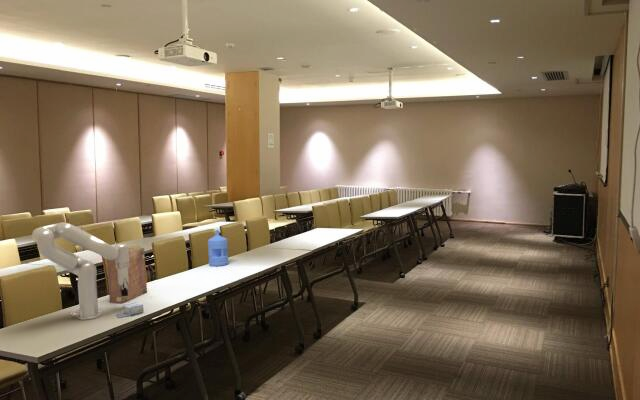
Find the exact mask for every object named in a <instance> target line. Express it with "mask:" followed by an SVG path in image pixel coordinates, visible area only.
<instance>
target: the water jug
mask: <svg viewBox="0 0 640 400" xmlns="http://www.w3.org/2000/svg"><path fill="white" fill-rule="evenodd" d="M207 248H208V249H207V250H208V254H207V255H208V265H209V266H210V267H224V266H228V265H229V255H228V238H226V237H224V236H222V235H220V230H219V229H216V230H214V236H212V237H211V238H209V239H208V240H207Z"/></svg>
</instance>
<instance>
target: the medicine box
mask: <svg viewBox="0 0 640 400" xmlns="http://www.w3.org/2000/svg"><path fill="white" fill-rule="evenodd" d="M122 307H123V309H122V310H123V311H122V313H125V314H129V315H133V316H135V315H134V314H138V313H144V312H145V311H144V304H142V303H138V302H132V303H127V304H124V305H123V306H122Z"/></svg>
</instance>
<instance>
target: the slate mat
mask: <svg viewBox="0 0 640 400" xmlns="http://www.w3.org/2000/svg"><path fill="white" fill-rule="evenodd" d="M141 313H142V312H141ZM141 313H138V314H134V315H129V314H125V313H123V312H120V313H115V316H116V317H117V319H121V318H126V317H127V318H128V317H133V316H139V315H142V314H141Z"/></svg>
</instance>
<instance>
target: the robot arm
mask: <svg viewBox="0 0 640 400" xmlns="http://www.w3.org/2000/svg"><path fill="white" fill-rule="evenodd" d="M31 238H32V240H33V241H34V242H35V243H37V244H36V245H37V250H38V252H39V253H40V255H41V256H42V257H43V258H45V259H46V260H49V261H50V262H52V263H54V264H56V266H58V267H60V268H62V269H64V270H66V271H68V272H70V273H72V274H73V275H76V276H77V278H78V280H77V291H78V294H77V295H78V305H79V308H78V310H76V311H71V312H70V316H71V317H72V316H73V317H75V316H76V317H77V319H78V320H83V321H84V320H85V321H86V320H88V321H89V320H93V319H96V318H100V317H101V316H102V312H101V311H99V302H98V301H99V300H98V287H97V273H98V271H97V266H96V264H94V263H93V262H92V261H91V260H90V261H89V260H87V259H84V258H83V257H81V256H79V255H76V254H75V253H74V252H72V251H69V250H66V249H64V248H62V247H61V246H59V245H57V244H56V242H55V240H59V239H61V238H62V239H63V240H64V239H65V240H66V241H68V242H70V243H72V244H74V245H76V246H78V247H80V248H82V249H85V250H87V251H90V252H92V253H94V254H97V255H99V256H100V257H102V258H103V259H105V260H107V259H108V260H115V262H116V269H117V274H118V284H119V285H120V286H121V293H122V296H128V290H127V285H128V284H129V277H128V268H129V267H130V266H129V252H128V248H129V245H128V244H126V243H118V244H113V245H111V244H109V243H108V242H105V241H104V240H101V239H100V238H98V237H96V236H94V235H93V234H91V233H89V232H87V231H85V230H83V229H81V228H79V227H78V226H75V225H73V224H71V223H68V222H62V221H61V222H57V223H54V224H53V223H52V224H48V225H45V226H44V225H43V226H40V227H37V228H35V229H34V230H33V231H32V233H31Z"/></svg>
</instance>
